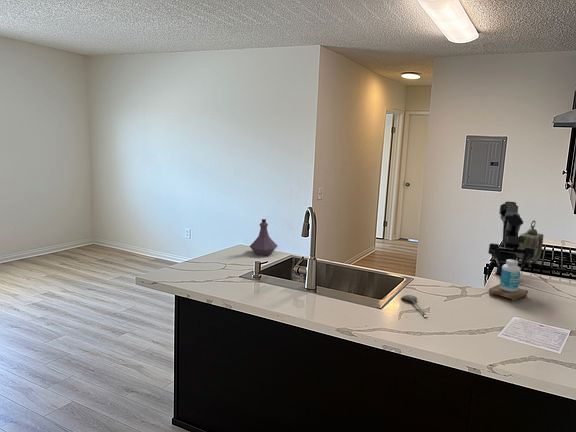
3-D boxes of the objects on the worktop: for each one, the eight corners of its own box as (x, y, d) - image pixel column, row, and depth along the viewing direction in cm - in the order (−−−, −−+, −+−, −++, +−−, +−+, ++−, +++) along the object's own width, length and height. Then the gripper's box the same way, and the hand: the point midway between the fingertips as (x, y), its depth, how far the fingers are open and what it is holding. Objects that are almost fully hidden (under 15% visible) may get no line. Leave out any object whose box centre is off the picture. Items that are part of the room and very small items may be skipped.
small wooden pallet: (488, 295, 204) (489, 288, 203) (500, 289, 211) (501, 283, 211) (515, 303, 195) (516, 296, 194) (527, 297, 202) (528, 290, 202)
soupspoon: (413, 299, 201) (399, 299, 200) (413, 291, 200) (399, 292, 199) (433, 318, 179) (417, 319, 178) (433, 310, 178) (417, 311, 178)
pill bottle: (510, 293, 198) (514, 264, 195) (495, 288, 204) (499, 259, 201) (521, 291, 201) (525, 261, 198) (507, 285, 207) (510, 257, 205)
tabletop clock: (532, 269, 241) (538, 223, 236) (514, 265, 247) (519, 221, 242) (539, 263, 252) (545, 219, 247) (522, 260, 258) (527, 217, 253)
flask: (276, 249, 271) (276, 216, 267) (279, 257, 255) (279, 222, 251) (248, 249, 269) (248, 216, 265) (249, 257, 253) (249, 222, 249)
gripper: (491, 226, 209) (489, 255, 201) (537, 230, 202) (536, 261, 194) (489, 238, 218) (487, 267, 210) (532, 243, 211) (532, 273, 203)
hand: (510, 267), depth 204 cm, fingers open, 9 cm apart
